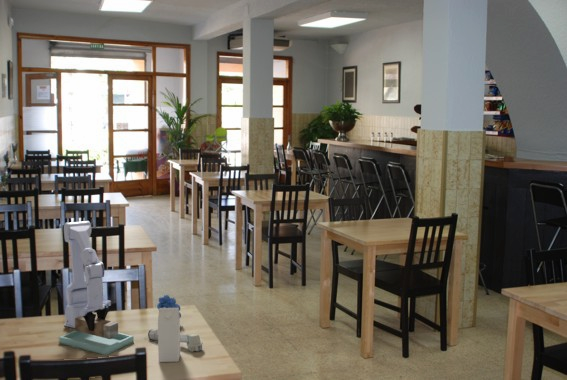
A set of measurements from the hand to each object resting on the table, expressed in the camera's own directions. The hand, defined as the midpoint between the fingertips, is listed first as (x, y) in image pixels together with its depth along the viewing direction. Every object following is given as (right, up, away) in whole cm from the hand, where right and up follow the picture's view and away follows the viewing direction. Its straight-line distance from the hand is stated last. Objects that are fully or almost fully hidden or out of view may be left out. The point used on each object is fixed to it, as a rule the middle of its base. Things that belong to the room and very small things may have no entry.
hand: (96, 328), depth 245 cm
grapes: (+24, -3, +23) cm, 33 cm away
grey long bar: (+31, -7, 0) cm, 31 cm away
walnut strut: (0, -2, 0) cm, 2 cm away
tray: (0, -6, +1) cm, 6 cm away
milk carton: (+31, -8, -13) cm, 35 cm away
